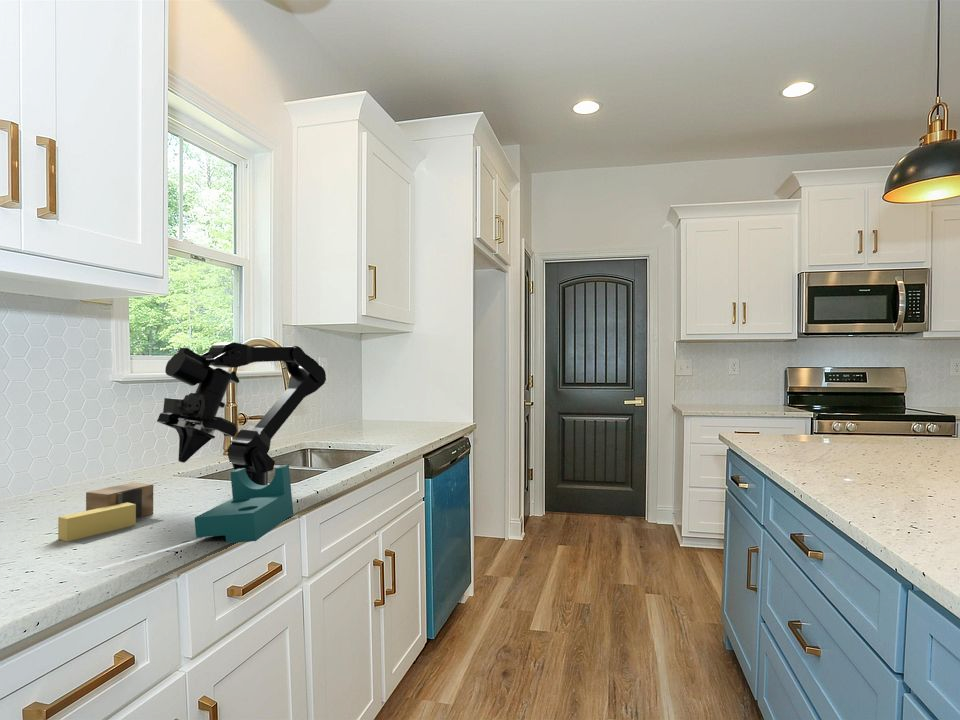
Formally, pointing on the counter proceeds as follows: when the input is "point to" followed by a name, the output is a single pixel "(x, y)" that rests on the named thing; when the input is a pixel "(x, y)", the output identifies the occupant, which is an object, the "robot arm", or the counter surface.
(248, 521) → the teal l-shaped bracket
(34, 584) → the counter surface
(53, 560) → the counter surface
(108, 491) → the brown box
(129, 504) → the yellow block
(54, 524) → the counter surface
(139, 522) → the mat
